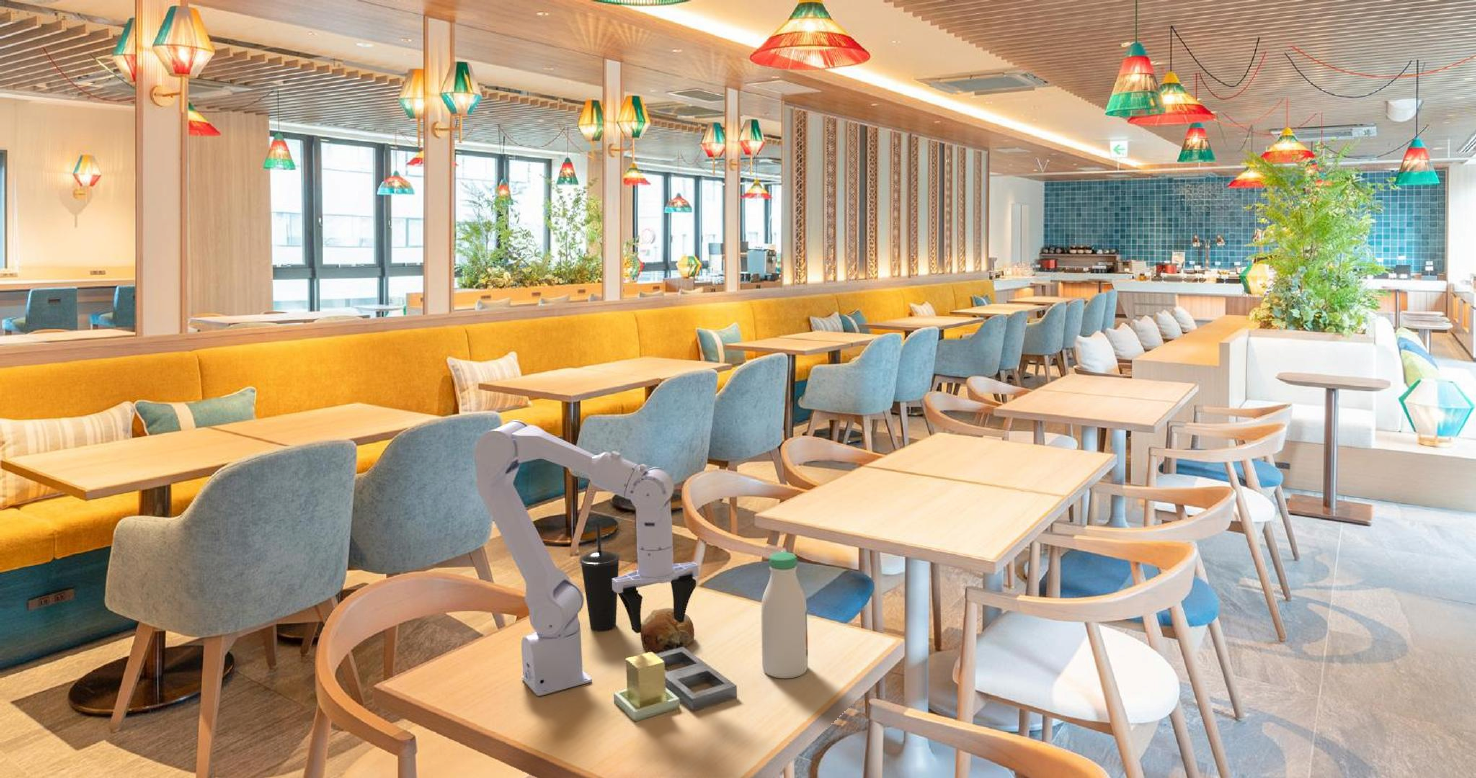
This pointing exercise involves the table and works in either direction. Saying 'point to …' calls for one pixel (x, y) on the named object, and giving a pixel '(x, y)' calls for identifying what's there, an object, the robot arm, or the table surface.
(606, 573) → the drinking cup
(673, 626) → the bread roll
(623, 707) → the tray
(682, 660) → the grey flat frame
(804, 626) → the milk bottle
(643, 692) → the wood grain cuboid
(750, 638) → the table surface
